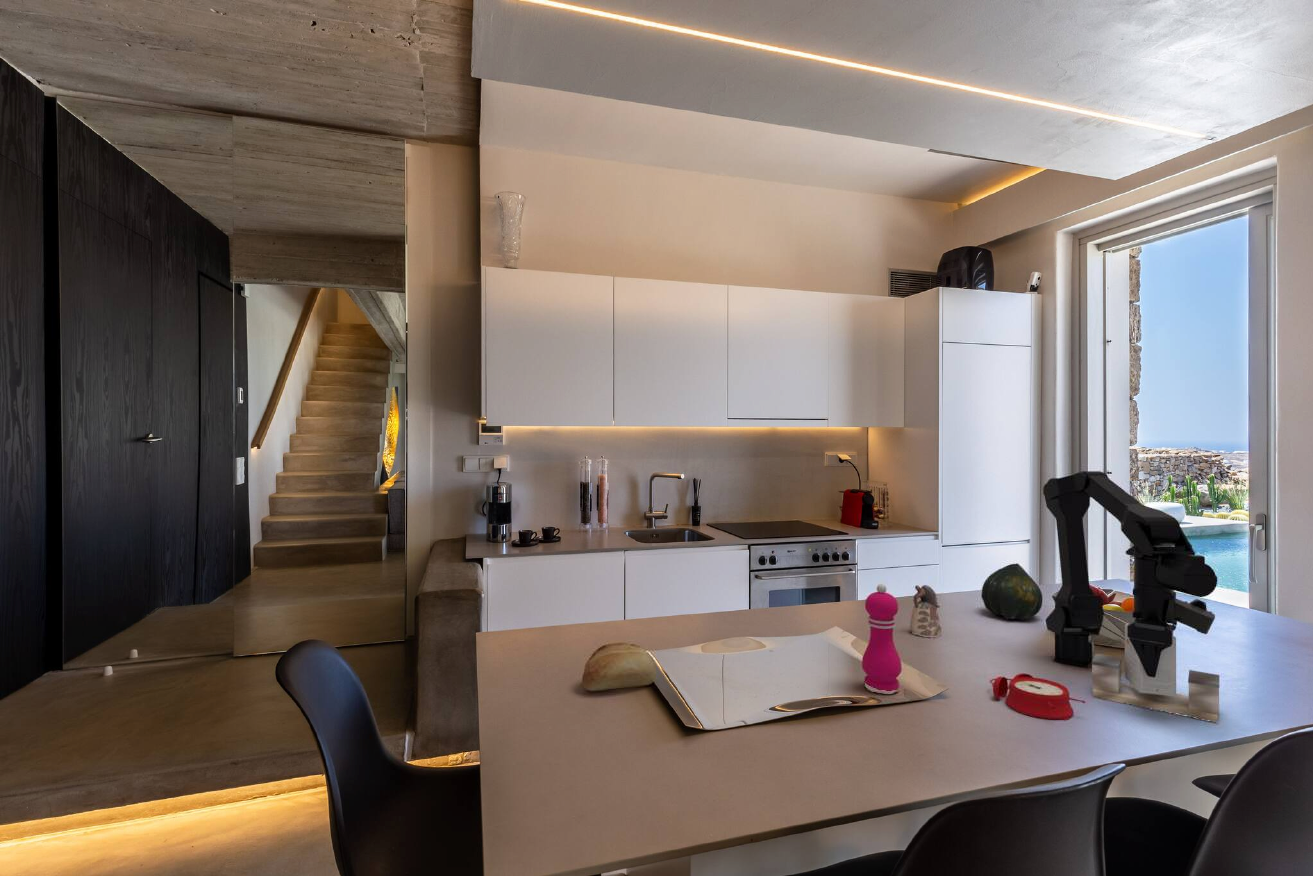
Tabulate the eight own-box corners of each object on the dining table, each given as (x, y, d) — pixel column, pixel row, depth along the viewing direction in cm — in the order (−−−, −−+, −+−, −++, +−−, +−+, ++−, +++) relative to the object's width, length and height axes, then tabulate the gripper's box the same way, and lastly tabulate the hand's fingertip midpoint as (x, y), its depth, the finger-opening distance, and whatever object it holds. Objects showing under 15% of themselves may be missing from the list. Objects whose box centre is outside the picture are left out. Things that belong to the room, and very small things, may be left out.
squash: (980, 601, 172) (1020, 559, 171) (963, 591, 187) (1000, 552, 186) (1024, 639, 170) (1065, 598, 169) (1004, 626, 185) (1041, 587, 183)
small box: (1176, 697, 114) (1177, 637, 114) (1138, 693, 116) (1139, 634, 116) (1159, 681, 122) (1160, 625, 122) (1123, 677, 124) (1124, 622, 124)
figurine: (946, 638, 158) (946, 588, 158) (916, 637, 158) (916, 588, 158) (934, 629, 165) (933, 582, 165) (905, 629, 165) (905, 582, 165)
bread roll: (573, 684, 127) (573, 643, 127) (643, 672, 134) (643, 633, 134) (591, 702, 118) (591, 658, 118) (664, 688, 125) (664, 647, 125)
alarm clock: (1049, 705, 108) (978, 658, 122) (1041, 739, 110) (973, 688, 123) (1094, 697, 112) (1020, 652, 126) (1086, 730, 113) (1014, 681, 127)
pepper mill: (907, 688, 125) (907, 584, 125) (892, 699, 120) (892, 590, 120) (871, 679, 130) (871, 578, 130) (855, 689, 125) (855, 584, 125)
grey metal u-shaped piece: (1091, 696, 121) (1091, 662, 121) (1097, 684, 127) (1097, 652, 127) (1219, 724, 110) (1219, 686, 110) (1219, 709, 116) (1219, 673, 116)
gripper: (1210, 600, 106) (1211, 696, 106) (1211, 582, 120) (1211, 666, 120) (1127, 590, 114) (1127, 680, 114) (1137, 573, 128) (1137, 653, 128)
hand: (1153, 669), depth 119 cm, fingers closed on small box, 9 cm apart
